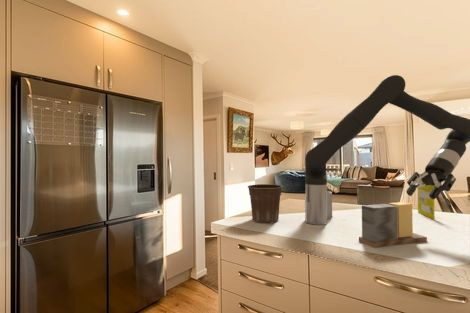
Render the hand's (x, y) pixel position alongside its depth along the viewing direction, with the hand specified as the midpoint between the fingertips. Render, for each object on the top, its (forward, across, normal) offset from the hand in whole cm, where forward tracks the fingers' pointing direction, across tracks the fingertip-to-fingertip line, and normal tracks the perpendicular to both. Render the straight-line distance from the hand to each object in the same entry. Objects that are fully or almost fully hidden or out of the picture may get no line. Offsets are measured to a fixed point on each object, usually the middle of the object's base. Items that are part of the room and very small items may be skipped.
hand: (419, 196), depth 92 cm
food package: (-15, -26, +36) cm, 47 cm away
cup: (+19, -41, +3) cm, 46 cm away
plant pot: (+41, -42, -19) cm, 61 cm away
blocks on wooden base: (+19, 0, +2) cm, 19 cm away
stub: (+16, 0, +3) cm, 16 cm away
